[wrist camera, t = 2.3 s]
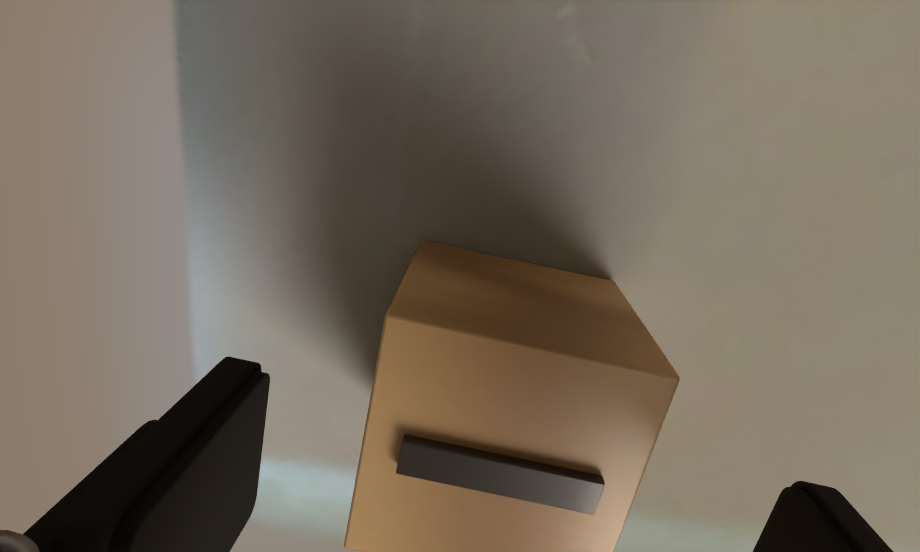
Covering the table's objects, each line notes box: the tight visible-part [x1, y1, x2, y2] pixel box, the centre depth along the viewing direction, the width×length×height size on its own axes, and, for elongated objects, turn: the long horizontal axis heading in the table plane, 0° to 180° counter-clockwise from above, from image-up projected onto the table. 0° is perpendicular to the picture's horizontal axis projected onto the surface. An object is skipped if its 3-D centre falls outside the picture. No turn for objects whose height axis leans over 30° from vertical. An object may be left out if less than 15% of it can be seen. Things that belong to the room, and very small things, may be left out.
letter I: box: [344, 240, 679, 552], centre depth 12 cm, size 5×5×5 cm
